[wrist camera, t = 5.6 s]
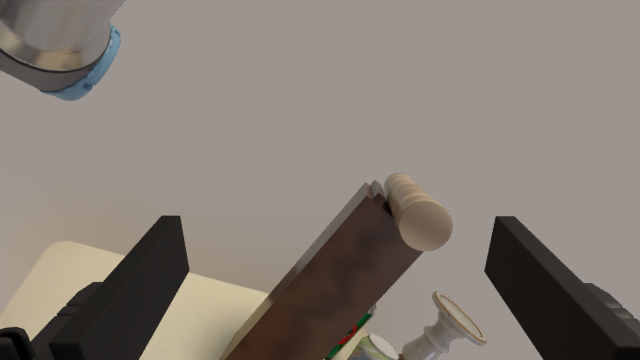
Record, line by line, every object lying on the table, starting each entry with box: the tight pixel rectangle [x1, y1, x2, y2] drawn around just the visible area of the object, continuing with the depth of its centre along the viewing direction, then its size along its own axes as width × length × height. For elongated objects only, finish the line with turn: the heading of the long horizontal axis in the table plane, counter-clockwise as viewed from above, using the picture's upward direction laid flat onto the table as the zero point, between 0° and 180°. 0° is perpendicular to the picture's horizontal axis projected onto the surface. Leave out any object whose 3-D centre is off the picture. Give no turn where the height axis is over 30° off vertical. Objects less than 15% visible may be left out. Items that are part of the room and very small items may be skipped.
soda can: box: [325, 304, 376, 358], centre depth 61 cm, size 5×5×12 cm
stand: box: [219, 180, 424, 360], centre depth 43 cm, size 8×10×29 cm
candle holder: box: [397, 291, 487, 360], centre depth 60 cm, size 12×12×20 cm
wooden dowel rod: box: [383, 173, 453, 251], centre depth 37 cm, size 20×4×4 cm, turn 170°
